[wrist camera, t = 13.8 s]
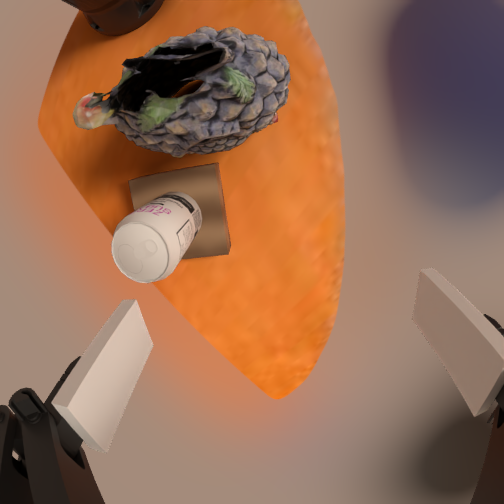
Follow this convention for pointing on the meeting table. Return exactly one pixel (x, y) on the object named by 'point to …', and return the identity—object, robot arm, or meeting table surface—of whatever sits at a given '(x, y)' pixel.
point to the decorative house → (200, 102)
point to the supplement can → (156, 237)
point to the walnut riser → (206, 196)
